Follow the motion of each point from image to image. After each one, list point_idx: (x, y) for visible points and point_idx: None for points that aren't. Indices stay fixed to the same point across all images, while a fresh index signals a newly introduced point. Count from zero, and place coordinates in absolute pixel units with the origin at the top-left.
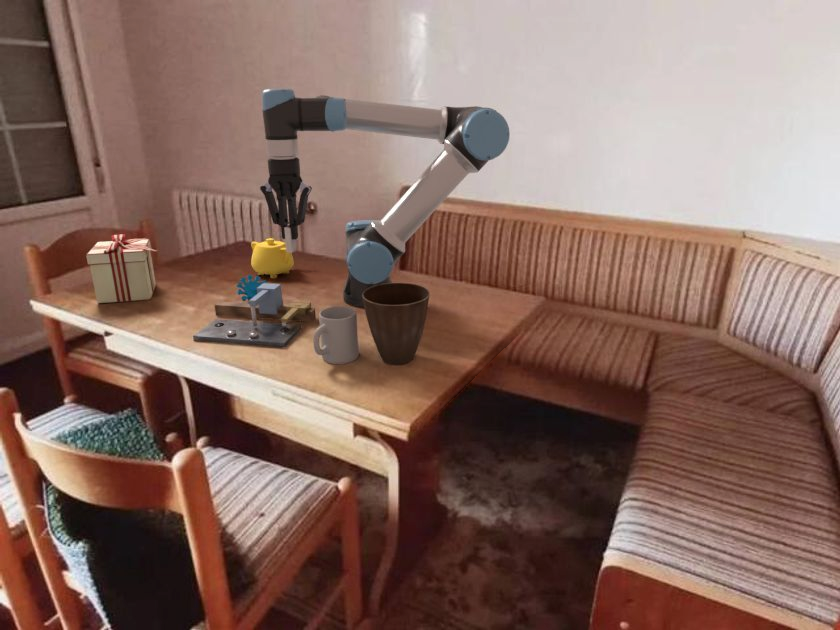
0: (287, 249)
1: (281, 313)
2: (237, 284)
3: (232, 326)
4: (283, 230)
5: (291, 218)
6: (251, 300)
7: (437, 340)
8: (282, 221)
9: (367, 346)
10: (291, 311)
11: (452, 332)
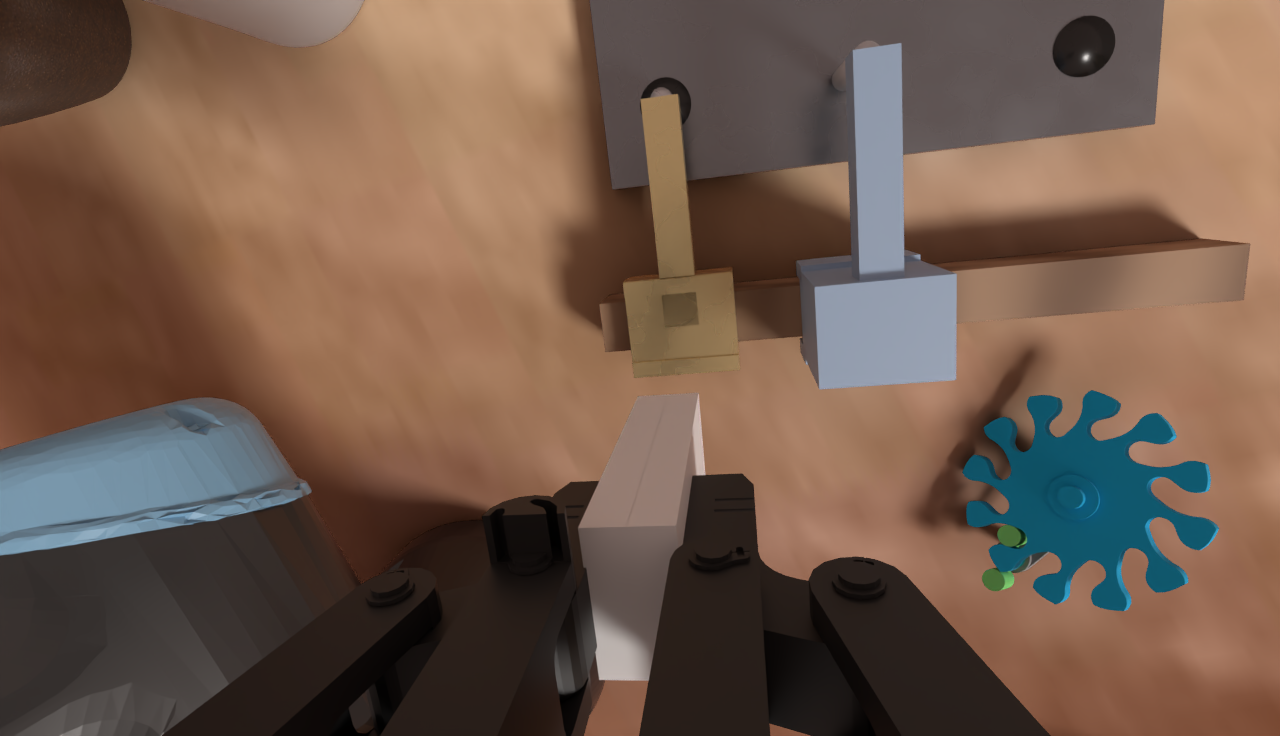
0: (680, 403)
1: (778, 283)
2: (1208, 471)
3: (987, 51)
4: (720, 532)
5: (483, 640)
6: (881, 46)
7: (25, 256)
8: (699, 595)
9: (239, 102)
10: (672, 219)
11: (16, 350)
